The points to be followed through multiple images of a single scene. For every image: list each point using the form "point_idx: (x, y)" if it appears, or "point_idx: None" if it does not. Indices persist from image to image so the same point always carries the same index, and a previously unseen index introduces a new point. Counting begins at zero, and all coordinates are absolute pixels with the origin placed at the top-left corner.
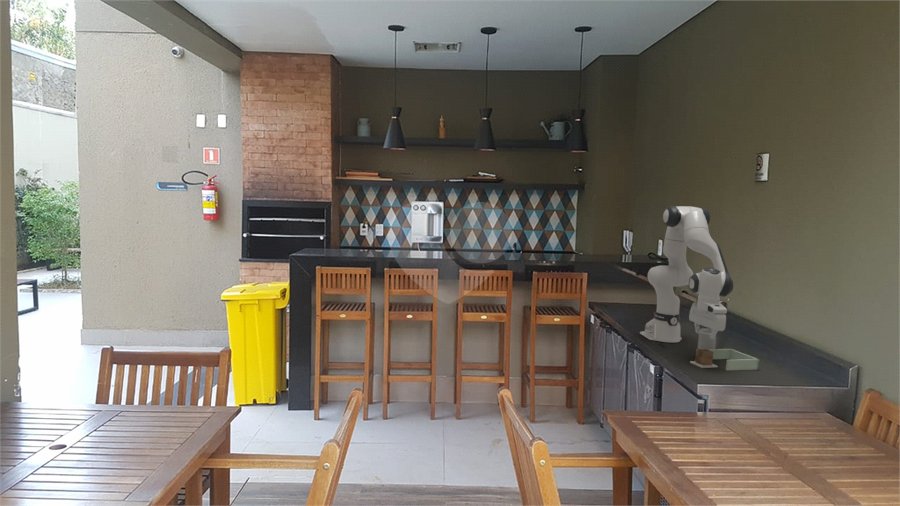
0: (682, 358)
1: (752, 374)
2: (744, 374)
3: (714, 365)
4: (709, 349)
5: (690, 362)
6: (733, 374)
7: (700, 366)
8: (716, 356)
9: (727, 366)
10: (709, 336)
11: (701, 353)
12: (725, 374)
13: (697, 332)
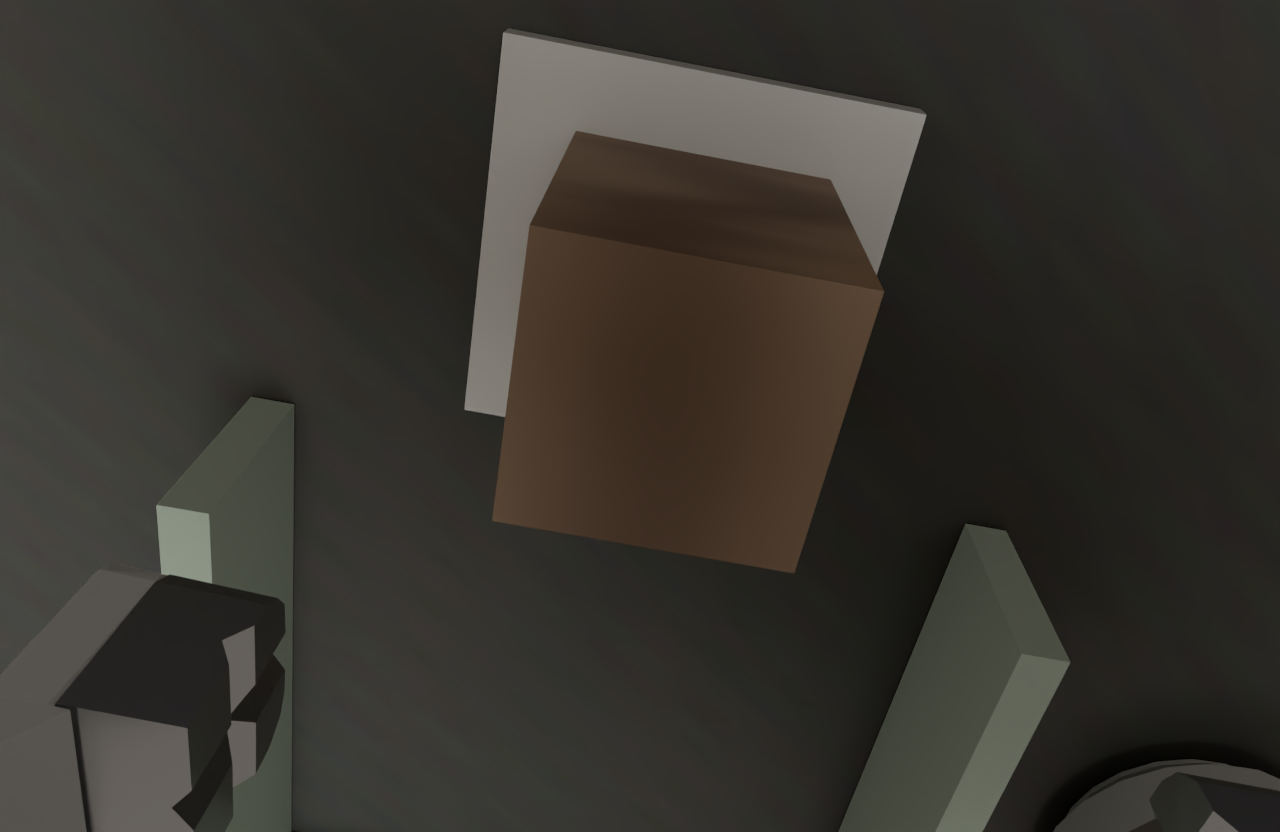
0: (1234, 222)
1: (26, 602)
2: (23, 490)
3: (504, 379)
4: (981, 805)
5: (905, 107)
6: (17, 308)
7: (547, 38)
8: (879, 790)
9: (220, 434)
10: (217, 640)
11: (621, 218)
12: (13, 150)
13: (1203, 794)
